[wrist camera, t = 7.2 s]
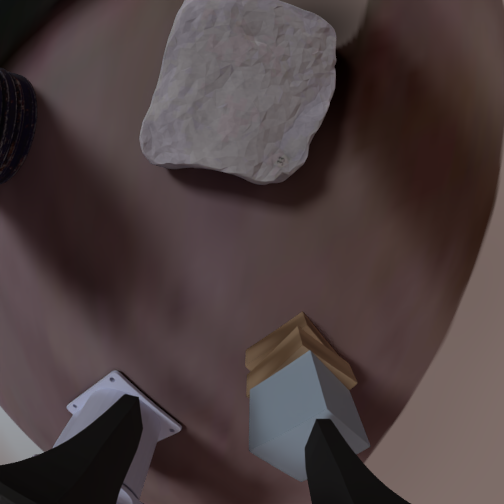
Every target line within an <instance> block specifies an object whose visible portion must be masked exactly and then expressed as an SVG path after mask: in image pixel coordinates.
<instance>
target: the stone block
mask: <svg viewBox="0 0 504 504" xmlns="http://www.w3.org/2000/svg"><path fill="white" fill-rule="evenodd" d="M336 39H337V38H336V33H335V30H334V28H333V27H332V26H331V25H330V24H328V23H327V22H326V21H325V20H324V19H322V18H321V17H320V16H318V15H316V14H314V13H311V12H308V11H306V10H302V9H300V8H298V7H295V6H293V5H290V4H287V3H285V2H282V1H279V0H185V1H184V3H183V5H182V7H181V8H180V10H179V11H178V13H177V16H176V18H175V21H174V24H173V27H172V30H171V33H170V35H169V38H168V42H167V45H166V49H165V52H164V57H163V62H162V67H161V72H160V76H159V80H158V83H157V87H156V90H155V92H154V95H153V97H152V102H151V106H150V108H149V110H148V112H147V114H146V116H145V118H144V120H143V123H142V127H141V132H140V137H139V139H140V145H141V149H142V152H143V154H144V155H145V157H146V158H147V159H148V161H149V162H150V163H151V164H153V165H156V166H160V167H164V168H168V169H181V168H192V167H194V168H204V169H210V170H216V171H220V172H225V173H228V174H233V175H235V176H238V177H240V178H243V179H245V180H247V181H249V182H252V183H254V184H260V185H266V184H269V183H280V182H283V181H285V180H286V179H287V178H288V177H290V176H291V175H292V174H293V173H294V172H296V171H297V170H298V169H299V168H300V167H301V166H302V165H303V164H304V163H305V161H306V159H307V157H308V151H309V145H310V143H311V141H312V139H313V137H314V135H315V133H316V132H317V130H318V129H319V127H320V126H321V124H322V121H323V119H324V117H325V115H326V113H327V111H328V108H329V105H330V101H331V98H332V96H333V93H334V90H335V85H336V71H335V67H334V66H335V64H336V55H335V48H336Z"/></svg>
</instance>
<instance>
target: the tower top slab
mask: <svg viewBox="0 0 504 504" xmlns="http://www.w3.org/2000/svg"><path fill="white" fill-rule="evenodd" d="M309 350H311V351H312V352H313V353H314V355H315V356H316V357H317V358H318V359H319V360H320V361H321V362H322V363H323V364H324V365H325V366H326V367H327V368H328V369H329V370H330V371H331V372H332V373H333V374H334V375H335V376H336V377H337V378H338V379H339V381H340V382H341V383H342V384H343V385H344V386H345V387H346V388H347V389H348V390H351V389H352V388H353V387H354V386H355V385H356V384H357V380H356V378H355V376H354V374H353V371H352V369H351V367H350V365H349V363H348V362H346V361H345V360H344V359H342V358H341V357H339V356H338V355H337V354H335V353H334V352H332V351H331V350H330V349H328V348H327V347H325V346H324V345H323V344H321V343H320V342H319V341H317V340H316V339H314V338H313V337H312V336H310V335H309V334H308V333H306V332H305V331H304V330H302V329H301V328H299V327H298V326H297V327H296V328H295V329H294V330H293V331H292V332H291V333H290V334H289V335H288V336H287V337H286V338H285V339H284V340H283V341H282V342H281V343H280V344H279V345H278V346H277V347H276V348H275V349H274V350H273V351H272V352H271V353H270V354H269V355H268V356H267V357H266V358H265V359H263V360H262V361H261V362H260V363H259V364H258V365H257V366H256V367H255V368H254V369H253V370H252V371H251V372H250V373H249V374H248V375H247V394H246V397H248V398H250V389H252V388H253V387H255V386H256V385H258V384H260V383H261V382H263V381H264V380H266V379H267V378H269V377H271V376H272V375H274V374H275V373H277V372H278V371H280V370H281V369H283V368H284V367H286V366H287V365H289V364H290V363H292V362H293V361H295V360H296V359H298V358H299V357H301V356H302V355H303V354H305V353H306V352H308V351H309Z"/></svg>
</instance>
